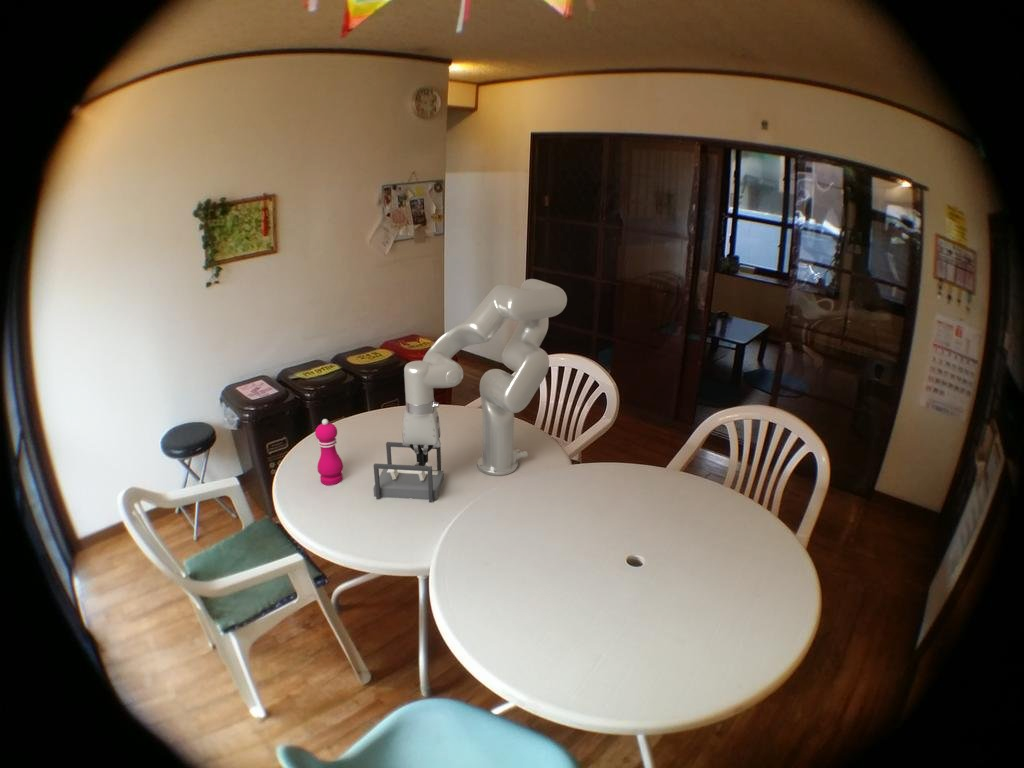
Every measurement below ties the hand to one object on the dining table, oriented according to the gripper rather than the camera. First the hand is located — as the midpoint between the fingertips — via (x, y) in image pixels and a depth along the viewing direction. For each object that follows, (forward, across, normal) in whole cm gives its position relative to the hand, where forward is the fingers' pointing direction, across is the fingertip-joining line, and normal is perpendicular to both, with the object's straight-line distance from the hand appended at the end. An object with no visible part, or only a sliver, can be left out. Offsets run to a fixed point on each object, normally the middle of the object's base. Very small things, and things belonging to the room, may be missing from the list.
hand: (422, 464), depth 162 cm
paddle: (+5, +8, 0) cm, 9 cm away
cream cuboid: (+5, 0, 0) cm, 5 cm away
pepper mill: (+8, +28, -2) cm, 29 cm away
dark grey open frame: (+8, +4, 0) cm, 9 cm away
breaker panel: (+8, +4, 0) cm, 9 cm away
